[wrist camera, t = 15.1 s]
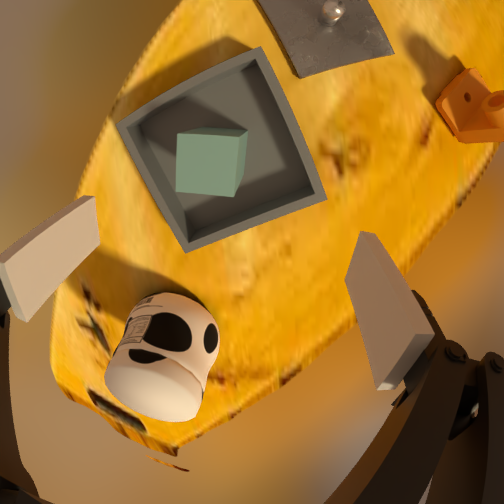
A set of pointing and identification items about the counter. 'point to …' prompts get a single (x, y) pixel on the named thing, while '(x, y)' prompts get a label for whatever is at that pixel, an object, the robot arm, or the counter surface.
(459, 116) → the bracket
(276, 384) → the counter surface
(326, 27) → the base
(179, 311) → the milk container
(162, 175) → the bin
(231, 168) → the green rectangular block
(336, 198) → the counter surface
